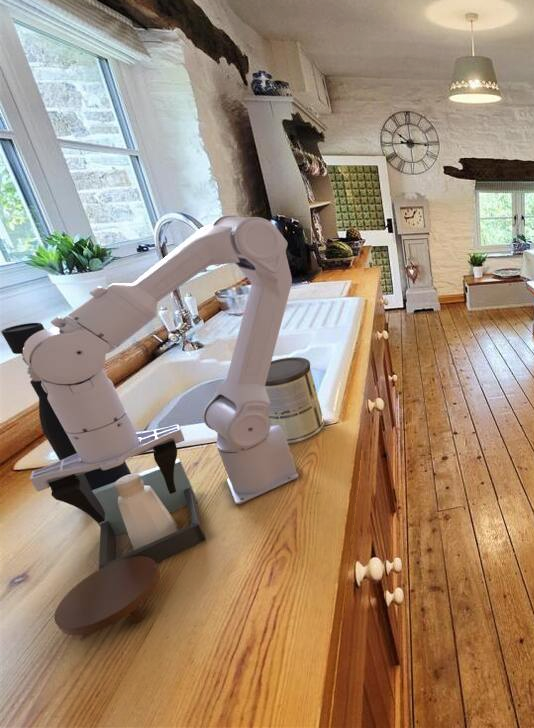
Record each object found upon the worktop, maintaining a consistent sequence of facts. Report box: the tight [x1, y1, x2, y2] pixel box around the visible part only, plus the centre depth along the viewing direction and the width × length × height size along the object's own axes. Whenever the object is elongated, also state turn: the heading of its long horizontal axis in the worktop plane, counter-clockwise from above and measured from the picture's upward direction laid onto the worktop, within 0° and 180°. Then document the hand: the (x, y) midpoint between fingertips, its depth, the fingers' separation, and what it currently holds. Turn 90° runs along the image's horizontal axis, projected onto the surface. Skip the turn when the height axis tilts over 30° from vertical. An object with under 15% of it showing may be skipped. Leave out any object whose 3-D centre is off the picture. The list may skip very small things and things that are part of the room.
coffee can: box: [265, 356, 325, 445], centre depth 82 cm, size 10×10×14 cm
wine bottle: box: [0, 322, 132, 490], centre depth 62 cm, size 6×6×30 cm
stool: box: [53, 556, 161, 636], centre depth 49 cm, size 9×9×4 cm
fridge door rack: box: [92, 458, 206, 570], centre depth 58 cm, size 11×11×8 cm
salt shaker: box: [114, 472, 179, 551], centre depth 57 cm, size 5×5×11 cm
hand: (138, 503), depth 57 cm, fingers open, 7 cm apart
